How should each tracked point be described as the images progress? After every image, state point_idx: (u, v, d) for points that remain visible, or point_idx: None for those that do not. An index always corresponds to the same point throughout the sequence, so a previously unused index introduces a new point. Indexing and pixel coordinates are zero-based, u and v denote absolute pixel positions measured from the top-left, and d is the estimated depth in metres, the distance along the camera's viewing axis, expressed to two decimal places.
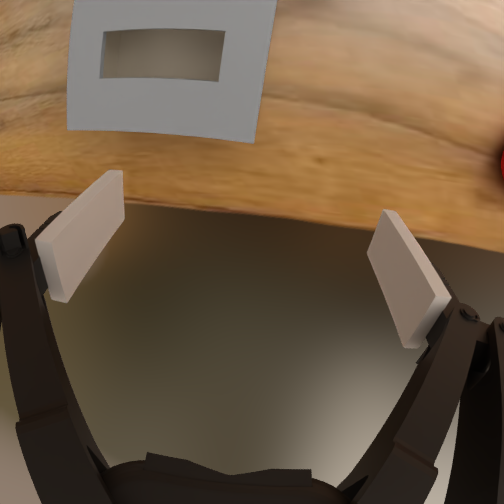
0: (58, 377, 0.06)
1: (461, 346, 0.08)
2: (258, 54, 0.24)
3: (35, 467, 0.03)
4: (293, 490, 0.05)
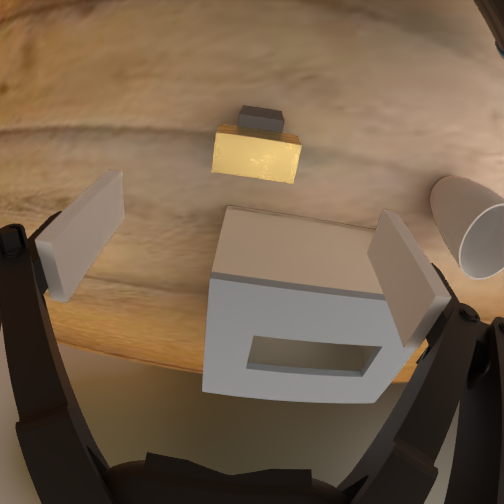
0: (58, 377, 0.06)
1: (461, 346, 0.08)
2: (401, 359, 0.28)
3: (35, 467, 0.03)
4: (293, 490, 0.05)
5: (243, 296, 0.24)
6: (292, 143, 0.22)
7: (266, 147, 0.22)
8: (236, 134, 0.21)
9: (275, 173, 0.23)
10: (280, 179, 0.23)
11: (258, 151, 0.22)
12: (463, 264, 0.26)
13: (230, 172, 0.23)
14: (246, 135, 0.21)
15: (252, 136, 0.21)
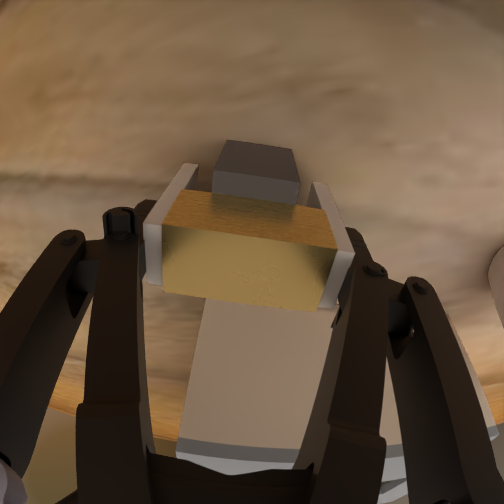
0: (138, 371, 0.06)
1: (373, 304, 0.09)
2: None
3: (84, 452, 0.04)
4: (293, 490, 0.05)
5: (229, 466, 0.13)
6: (319, 244, 0.11)
7: (266, 253, 0.11)
8: (203, 226, 0.11)
9: (283, 297, 0.12)
10: (292, 306, 0.12)
11: (250, 261, 0.11)
12: None
13: (197, 294, 0.12)
14: (224, 228, 0.11)
15: (237, 230, 0.11)
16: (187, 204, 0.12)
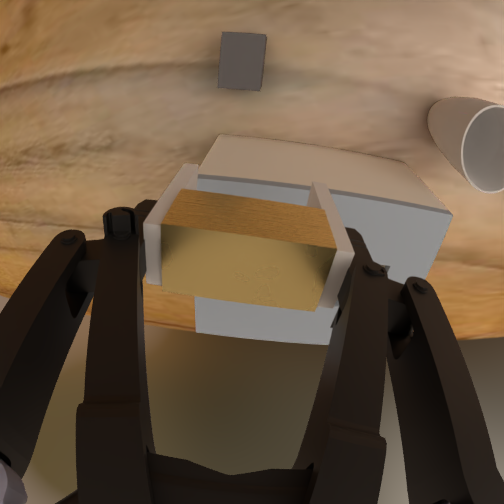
0: (138, 371, 0.06)
1: (373, 304, 0.09)
2: None
3: (84, 452, 0.04)
4: (293, 490, 0.05)
5: None
6: (318, 244, 0.11)
7: (265, 253, 0.11)
8: (203, 226, 0.11)
9: (282, 296, 0.12)
10: (291, 305, 0.12)
11: (250, 260, 0.11)
12: (469, 178, 0.23)
13: (196, 293, 0.12)
14: (223, 227, 0.11)
15: (236, 230, 0.11)
16: (186, 204, 0.12)
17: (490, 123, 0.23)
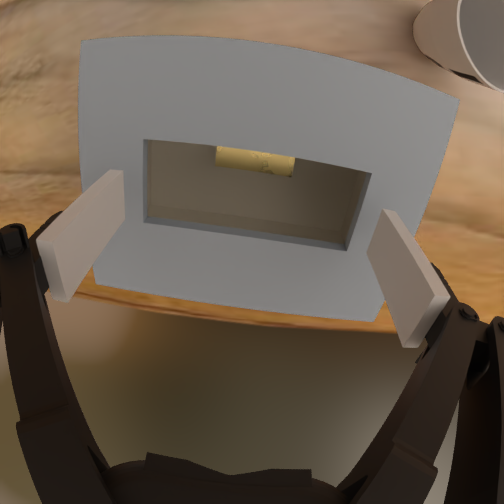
0: (59, 377, 0.06)
1: (460, 346, 0.08)
2: (410, 215, 0.17)
3: (35, 467, 0.03)
4: (293, 490, 0.05)
5: (122, 60, 0.13)
6: None
7: None
8: None
9: (274, 167, 0.24)
10: (279, 172, 0.24)
11: None
12: (473, 76, 0.15)
13: (232, 166, 0.24)
14: None
15: None
16: None
17: (490, 31, 0.15)
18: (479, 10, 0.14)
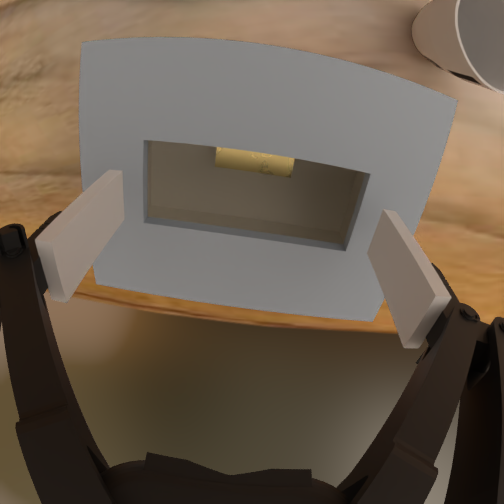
0: (58, 377, 0.06)
1: (461, 346, 0.08)
2: (409, 215, 0.17)
3: (35, 467, 0.03)
4: (293, 490, 0.05)
5: (123, 62, 0.13)
6: None
7: None
8: None
9: (274, 168, 0.24)
10: (278, 173, 0.25)
11: None
12: None
13: (232, 167, 0.24)
14: None
15: None
16: None
17: (489, 31, 0.15)
18: (478, 11, 0.14)
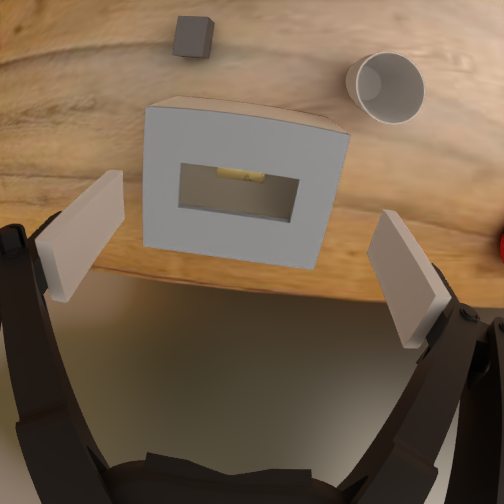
0: (58, 377, 0.06)
1: (461, 346, 0.08)
2: (325, 201, 0.33)
3: (35, 467, 0.03)
4: (293, 490, 0.05)
5: (170, 121, 0.28)
6: None
7: None
8: None
9: (252, 177, 0.40)
10: (255, 181, 0.40)
11: None
12: (373, 115, 0.31)
13: (227, 177, 0.40)
14: None
15: None
16: None
17: (398, 77, 0.31)
18: (390, 64, 0.30)
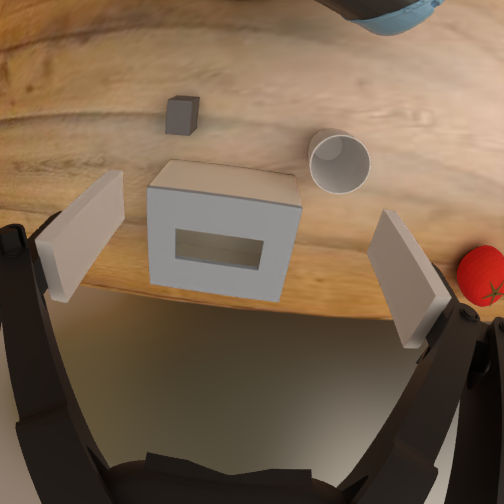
0: (58, 377, 0.06)
1: (461, 346, 0.08)
2: (284, 255, 0.44)
3: (35, 467, 0.03)
4: (293, 490, 0.05)
5: (165, 199, 0.40)
6: None
7: None
8: None
9: None
10: None
11: None
12: (326, 185, 0.42)
13: None
14: None
15: None
16: None
17: (354, 145, 0.42)
18: None
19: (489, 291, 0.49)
